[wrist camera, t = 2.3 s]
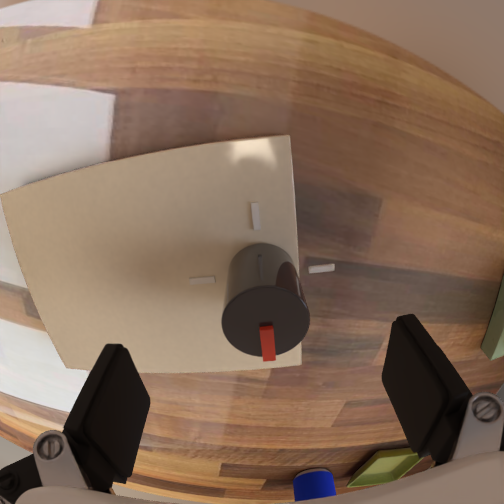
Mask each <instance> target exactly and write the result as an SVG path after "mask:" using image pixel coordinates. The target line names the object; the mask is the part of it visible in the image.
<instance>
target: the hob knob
mask: <svg viewBox="0 0 504 504" xmlns="http://www.w3.org/2000/svg"><path fill="white" fill-rule="evenodd" d="M221 325H222V330H223V333H224V335H225V337H226V339H227V340H228V341H229V343H230V344H231V345H232V346H233V347H235V348H236V349H238V350H239V351H241V352H243V353H245V354H248V355H252V356H257V357H263V362H266V361H276V355H280V354H283V353H286V352H288V351H290V350H291V349H293V348H294V347H296V346H297V345H298V344H299V343H300V342H301V341H302V340H303V338H304V337H305V335H306V334H307V331H308V329H309V325H310V313H309V310H308V306H307V303H306V300H305V296H304V293H303V290H302V287H301V283H300V280H299V277H298V274H297V270H296V267H295V264H294V262H293V260H292V258H291V257H290V255H289V254H288V253H287V252H286V251H285V250H283V249H282V248H280V247H278V246H275V245H272V244H267V243H258V244H253V245H249V246H247V247H245V248H243V249H242V250H240V251H239V252H238V253H237V254H236V255H235V256H234V257H233V259H232V260H231V262H230V265H229V268H228V273H227V281H226V288H225V295H224V303H223V310H222V318H221Z"/></svg>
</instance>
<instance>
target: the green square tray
mask: <svg viewBox="0 0 504 504" xmlns="http://www.w3.org/2000/svg"><path fill="white" fill-rule="evenodd" d="M421 459H422V458H420V459H419V457H418V454H417V452H416V453H414V452H413V451H412V450H411V448H401V449H391V450H380V451H377V452H376V453H375V454H374V455H373V456H372V457H371V458H370V459H369V460H368V461H367V462H366V463H365V464H364V465H363V466H362V467H361V468H359V469H358V470H357V471H356V472H355V473H354V475H353V476H352V477H351V479H350V480H349V482H348V484H347V486H346V487H359V486H369V485H377V484H384V483H389V482H392V481H395V480H398V479H399V478H400V477H402V476H403V475H404V474H405V473H406V472H407V471H409V470H410V469H411V468H412V467H413V466H414V465H416V464H417V463H418V462H419V461H420V460H421Z"/></svg>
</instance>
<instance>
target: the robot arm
mask: <svg viewBox="0 0 504 504" xmlns="http://www.w3.org/2000/svg"><path fill="white" fill-rule="evenodd" d="M382 382H383V385H384V387H385V389H386V392H387V394H388V396H389V398H390V401H391V403H392V405H393V407H394V410H395V412H396V414H397V417H398V419H399V421H400V424H401V426H402V428H403V431H404V433H405V436H406V438H407V440H408V443H409V445H410V448H411V450H412V451H413V452H414V453H416V452H417V454H418V457H419V459H420V458H423V457H426V456H428V455H431V457H432V459H433V460H434V461H433V464H432V466H431V469H429V470H426V471H423V472H420V473H417V474H414V475H411V476H408V477H405V478H402V479H399V480H395V481H392V482H389V483H385V484H382V485H378V486H374V487H371V488H367V489H363V490H358V491H354V492H350V493H345V494H340V495H335V496H329V497H324V498H317V499H311V500H304V501H296V502H287V503H277V504H504V403H503V401H502V400H501V399H500V398H499V397H498V396H497V395H495V394H493V393H490V392H479V393H477V394H475V395H472V393H471V392H470V390H469V389H468V387H467V386H466V384H465V383H464V381H463V380H462V378H461V377H460V375H459V374H458V372H457V371H456V370H455V368H454V367H453V365H452V364H451V362H450V361H449V360H448V358H447V357H446V355H445V354H444V353H443V351H442V350H441V348H440V347H439V346H438V345H437V344H436V343H435V342H434V340H433V339H432V337H431V336H430V335H429V333H428V332H427V331H426V329H425V328H424V327H423V325H422V324H421V323H420V321H419V320H418V319H417V318H416V316H415V315H414V314H408V315H403V316H399V317H397V319H396V321H394V322H393V323H392V327H391V333H390V338H389V343H388V349H387V353H386V358H385V363H384V367H383V372H382ZM149 407H150V397H149V395H148V393H147V390H146V388H145V386H144V384H143V382H142V380H141V378H140V376H139V373H138V371H137V369H136V367H135V364H134V362H133V360H132V357H131V355H130V353H129V350H128V349H127V348H125V347H124V346H123V345H122V344H110V343H108V344H106V345H105V346H104V348H103V350H102V351H101V353H100V355H99V357H98V359H97V361H96V363H95V364H94V366H93V368H92V370H91V372H90V374H89V376H88V378H87V380H86V382H85V384H84V386H83V388H82V390H81V392H80V394H79V396H78V398H77V400H76V402H75V404H74V406H73V408H72V410H71V412H70V414H69V416H68V418H67V420H66V423H65V425H64V427H63V428H64V430H63V432H60V431H57V430H49V431H46V432H44V433H42V434H41V435H40V436H39V437H38V438H37V439H36V441H35V442H34V446H33V454H32V455H30V456H28V457H25V458H23V459H21V460H19V461H17V462H15V463H13V464H10V465H8V466H6V467H4V468H3V469H1V470H0V504H177V503H165V502H158V501H150V500H143V499H136V498H129V497H124V496H118V495H116V494H115V493H114V491H113V489H112V484H113V482H118V483H123V484H126V481H127V477H130V476H131V475H132V472H133V467H134V463H135V460H136V456H137V452H138V448H139V444H140V440H141V436H142V433H143V429H144V425H145V422H146V418H147V414H148V411H149Z"/></svg>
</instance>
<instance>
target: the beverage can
mask: <svg viewBox="0 0 504 504" xmlns="http://www.w3.org/2000/svg"><path fill="white" fill-rule="evenodd" d="M293 486H294V496H295V502H296V501H304V500H311V499H317V498H324V497H329V496H335V495H336V491H335V486H334V481H333V475H332V473H331V472H329V471H328V470H326V469H322V468H316V469H309V470H306V471H303V472H300V473H299V474H297V475H296V477H295V478H294V480H293Z"/></svg>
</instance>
